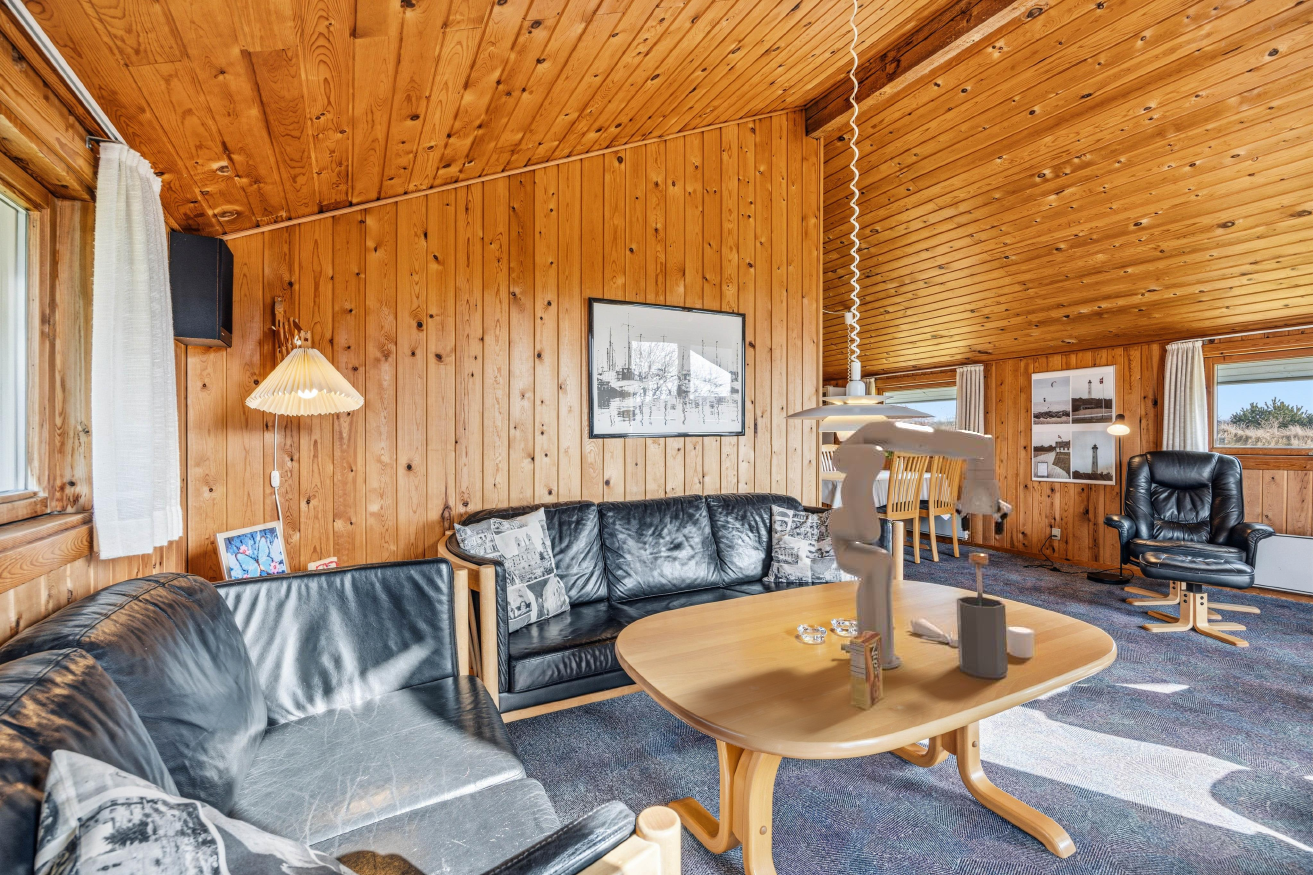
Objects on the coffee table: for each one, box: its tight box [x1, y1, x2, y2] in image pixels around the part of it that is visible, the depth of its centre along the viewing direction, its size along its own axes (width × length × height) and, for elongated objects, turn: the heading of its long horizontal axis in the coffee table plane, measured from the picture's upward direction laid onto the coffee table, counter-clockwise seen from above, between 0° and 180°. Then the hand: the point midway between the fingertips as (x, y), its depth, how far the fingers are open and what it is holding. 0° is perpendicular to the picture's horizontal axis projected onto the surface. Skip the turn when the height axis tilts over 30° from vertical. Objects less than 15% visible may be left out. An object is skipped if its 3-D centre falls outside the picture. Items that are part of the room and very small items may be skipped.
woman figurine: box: [910, 618, 958, 648], centre depth 179 cm, size 12×4×18 cm
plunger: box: [968, 552, 989, 607], centre depth 153 cm, size 8×8×17 cm
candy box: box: [849, 631, 884, 711], centre depth 137 cm, size 9×4×15 cm, turn 137°
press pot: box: [956, 595, 1009, 680], centre depth 155 cm, size 11×14×18 cm
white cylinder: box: [1006, 625, 1035, 659], centre depth 164 cm, size 7×7×7 cm
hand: (982, 532), depth 176 cm, fingers open, 9 cm apart
